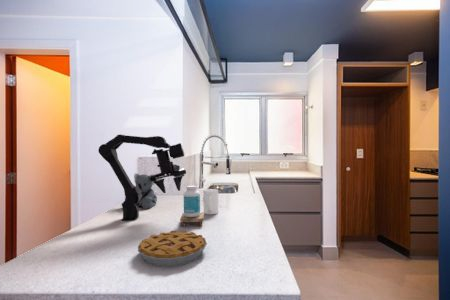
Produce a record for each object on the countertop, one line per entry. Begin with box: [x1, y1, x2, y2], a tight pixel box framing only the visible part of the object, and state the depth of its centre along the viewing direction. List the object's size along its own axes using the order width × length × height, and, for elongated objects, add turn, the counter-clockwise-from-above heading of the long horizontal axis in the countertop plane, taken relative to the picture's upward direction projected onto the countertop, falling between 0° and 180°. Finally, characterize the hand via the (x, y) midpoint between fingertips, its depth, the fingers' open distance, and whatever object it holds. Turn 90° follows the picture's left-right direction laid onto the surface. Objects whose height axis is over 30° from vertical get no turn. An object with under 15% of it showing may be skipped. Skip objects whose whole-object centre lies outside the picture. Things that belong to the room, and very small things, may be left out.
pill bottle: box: [183, 185, 201, 217], centre depth 118 cm, size 8×7×14 cm
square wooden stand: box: [179, 212, 205, 227], centre depth 118 cm, size 10×10×4 cm
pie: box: [137, 230, 208, 268], centre depth 85 cm, size 22×22×5 cm
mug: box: [202, 188, 219, 215], centre depth 136 cm, size 8×12×12 cm
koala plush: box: [124, 173, 158, 209], centre depth 156 cm, size 17×18×20 cm
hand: (171, 191), depth 128 cm, fingers open, 9 cm apart
